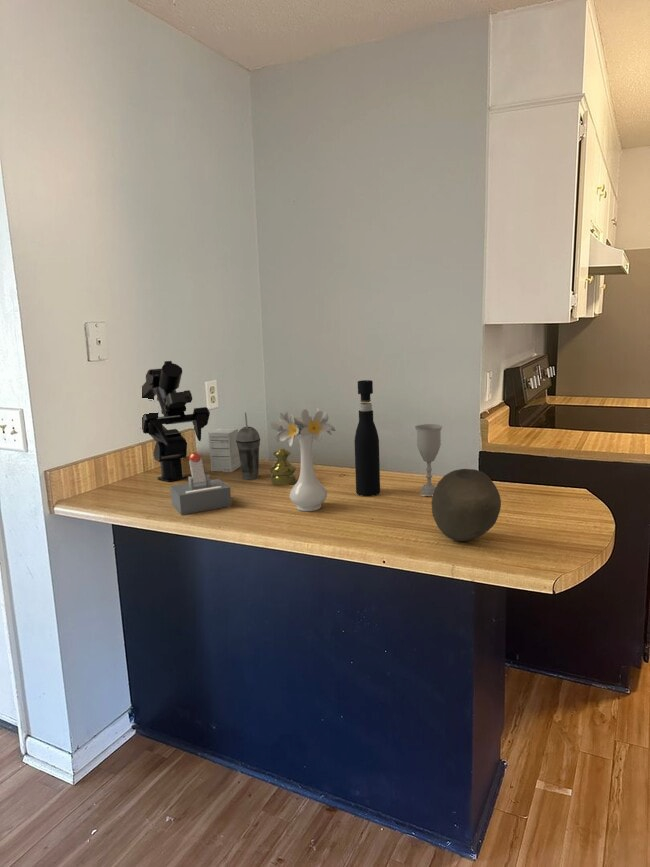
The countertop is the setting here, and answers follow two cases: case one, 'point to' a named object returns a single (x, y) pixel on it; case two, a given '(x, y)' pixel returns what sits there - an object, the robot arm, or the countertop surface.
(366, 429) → the black bottle
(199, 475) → the switch lever
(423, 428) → the chalice
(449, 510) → the dark brown ball
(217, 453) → the supplement box
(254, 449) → the beverage cup
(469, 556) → the countertop surface
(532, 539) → the countertop surface
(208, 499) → the switch box
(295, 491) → the flower vase
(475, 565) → the countertop surface
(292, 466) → the salt shaker
